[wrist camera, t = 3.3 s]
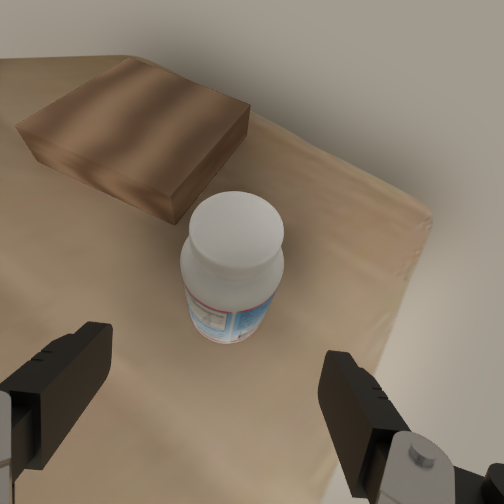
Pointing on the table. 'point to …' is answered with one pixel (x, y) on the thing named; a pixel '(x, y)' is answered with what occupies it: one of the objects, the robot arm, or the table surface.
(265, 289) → the pill bottle
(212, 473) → the table surface
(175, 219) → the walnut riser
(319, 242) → the table surface
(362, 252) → the table surface
